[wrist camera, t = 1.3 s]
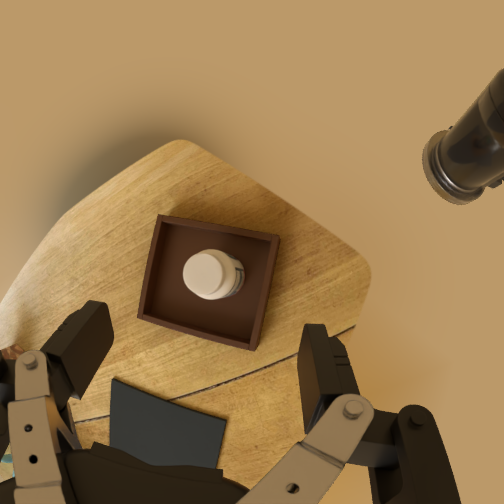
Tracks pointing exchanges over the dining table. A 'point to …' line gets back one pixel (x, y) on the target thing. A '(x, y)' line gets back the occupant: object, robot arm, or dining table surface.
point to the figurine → (12, 352)
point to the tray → (193, 306)
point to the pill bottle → (213, 274)
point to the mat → (162, 429)
